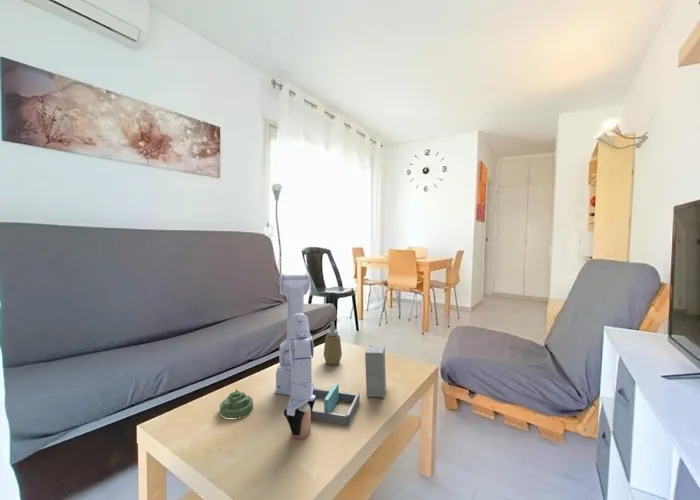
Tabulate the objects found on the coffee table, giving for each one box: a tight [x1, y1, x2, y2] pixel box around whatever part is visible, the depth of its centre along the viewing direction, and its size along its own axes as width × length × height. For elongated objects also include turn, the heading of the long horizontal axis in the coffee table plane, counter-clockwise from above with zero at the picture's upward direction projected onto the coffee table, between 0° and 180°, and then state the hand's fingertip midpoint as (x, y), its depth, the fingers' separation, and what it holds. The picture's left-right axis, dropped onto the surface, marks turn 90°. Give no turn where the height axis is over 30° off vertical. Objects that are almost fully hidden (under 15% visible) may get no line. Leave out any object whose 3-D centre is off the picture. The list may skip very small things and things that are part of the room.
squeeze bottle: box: [323, 321, 343, 366], centre depth 140 cm, size 8×8×18 cm
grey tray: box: [311, 387, 360, 426], centre depth 104 cm, size 18×14×3 cm
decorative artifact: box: [219, 388, 254, 419], centre depth 102 cm, size 10×7×10 cm
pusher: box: [323, 382, 340, 413], centre depth 103 cm, size 1×11×6 cm, turn 165°
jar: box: [292, 403, 312, 440], centre depth 91 cm, size 5×5×8 cm
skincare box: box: [364, 345, 387, 399], centre depth 114 cm, size 8×7×16 cm
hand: (301, 426), depth 91 cm, fingers open, 7 cm apart
